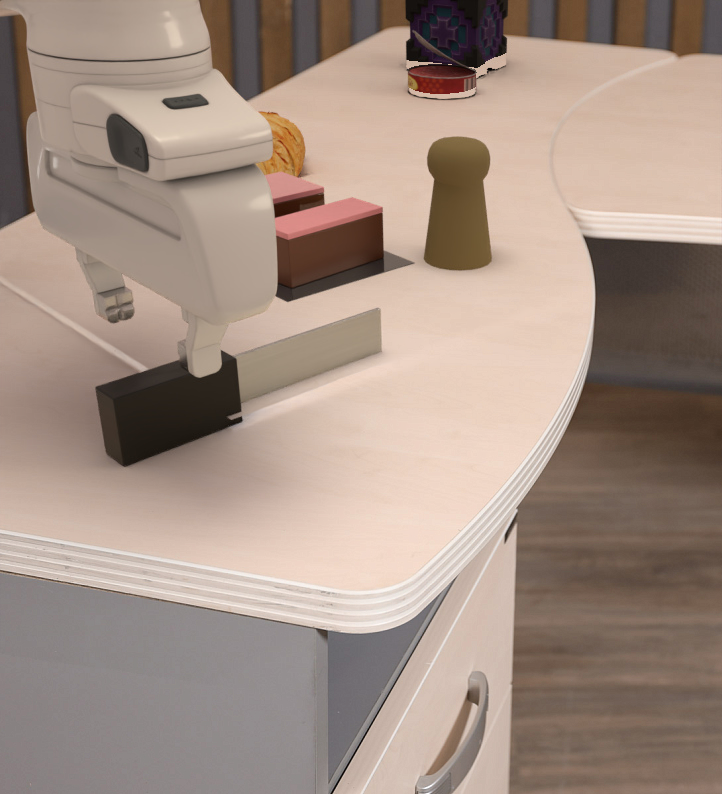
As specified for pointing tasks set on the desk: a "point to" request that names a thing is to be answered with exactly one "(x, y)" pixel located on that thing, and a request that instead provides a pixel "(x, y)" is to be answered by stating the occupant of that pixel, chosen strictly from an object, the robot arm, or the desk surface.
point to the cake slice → (327, 240)
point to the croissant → (284, 146)
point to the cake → (304, 195)
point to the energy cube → (457, 30)
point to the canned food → (440, 75)
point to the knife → (222, 387)
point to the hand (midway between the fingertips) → (156, 343)
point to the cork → (458, 205)
